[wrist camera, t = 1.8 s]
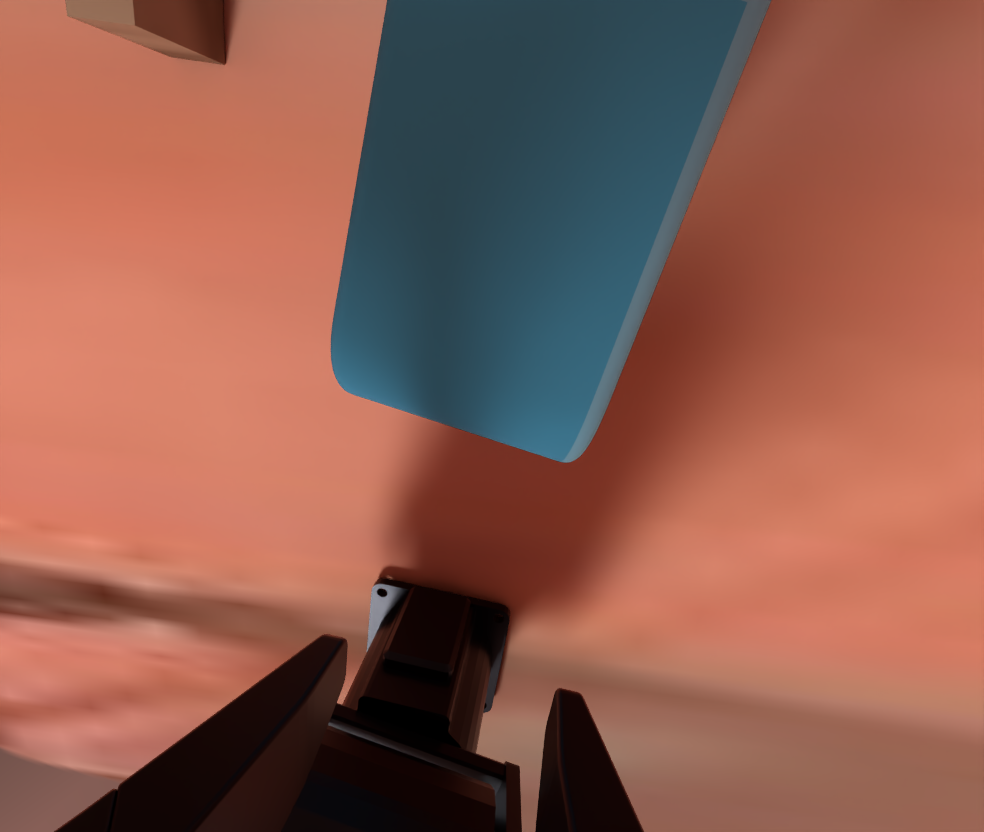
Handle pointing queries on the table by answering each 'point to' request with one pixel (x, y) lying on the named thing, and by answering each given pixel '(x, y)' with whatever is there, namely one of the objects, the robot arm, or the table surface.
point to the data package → (525, 202)
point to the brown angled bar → (160, 24)
